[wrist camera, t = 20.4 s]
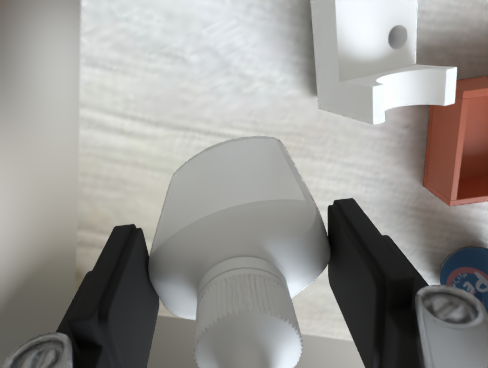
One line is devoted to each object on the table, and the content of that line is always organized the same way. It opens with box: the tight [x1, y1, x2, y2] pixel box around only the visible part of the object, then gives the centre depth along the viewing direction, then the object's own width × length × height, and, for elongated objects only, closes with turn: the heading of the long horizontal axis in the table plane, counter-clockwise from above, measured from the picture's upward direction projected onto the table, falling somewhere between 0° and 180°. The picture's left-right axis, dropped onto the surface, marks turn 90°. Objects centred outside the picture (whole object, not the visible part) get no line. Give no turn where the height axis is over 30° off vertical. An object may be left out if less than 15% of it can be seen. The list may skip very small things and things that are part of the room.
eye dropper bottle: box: [148, 136, 331, 368], centre depth 12 cm, size 4×6×12 cm
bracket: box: [310, 0, 457, 125], centre depth 27 cm, size 13×7×8 cm, turn 9°
